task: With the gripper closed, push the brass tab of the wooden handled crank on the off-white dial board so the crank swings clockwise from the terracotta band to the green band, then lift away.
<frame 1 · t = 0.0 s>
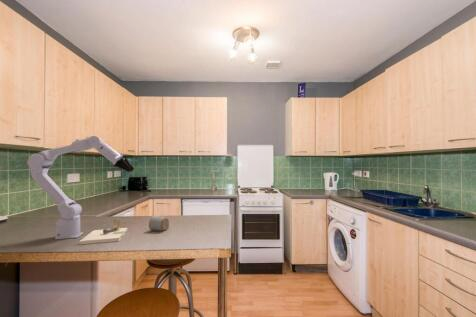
hand: (131, 170, 124), 32 cm above the counter, tool tilted 50°, fingers open, 7 cm apart
dial board: (105, 236, 115), on the counter
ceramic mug: (160, 230, 127), on the counter
wooden handled crank: (111, 225, 118), point 4 cm above the counter, hinge at 60.0°
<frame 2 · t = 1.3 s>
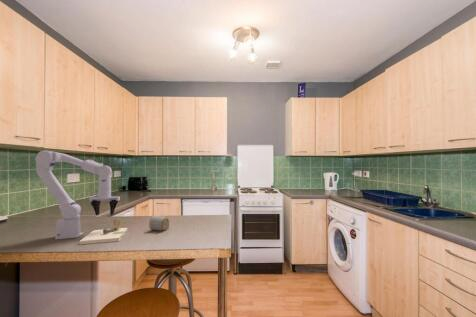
hand: (104, 214, 122), 9 cm above the counter, tool pointing down, fingers open, 7 cm apart
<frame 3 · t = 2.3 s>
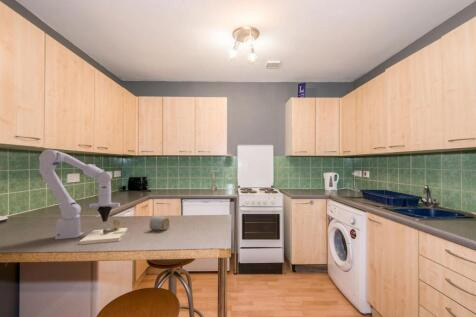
hand: (104, 221, 122), 6 cm above the counter, tool pointing down, fingers closed
nothing on the counter moved.
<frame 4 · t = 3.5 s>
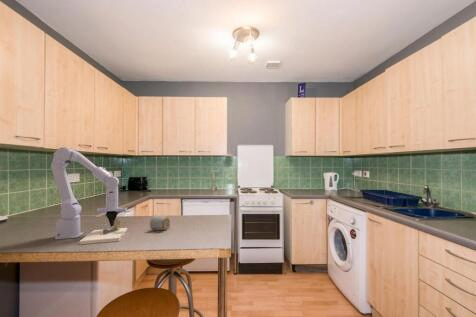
hand: (112, 226, 122), 3 cm above the counter, tool pointing down, fingers closed
wooden handled crank: (111, 225, 118), point 4 cm above the counter, hinge at 59.3°, touching gripper
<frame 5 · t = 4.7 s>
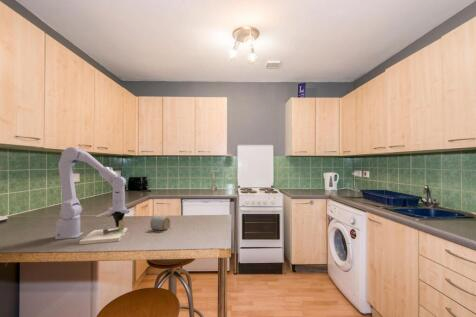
hand: (118, 226, 121), 3 cm above the counter, tool pointing down, fingers closed
wooden handled crank: (113, 226, 117), point 4 cm above the counter, hinge at 27.8°, touching gripper
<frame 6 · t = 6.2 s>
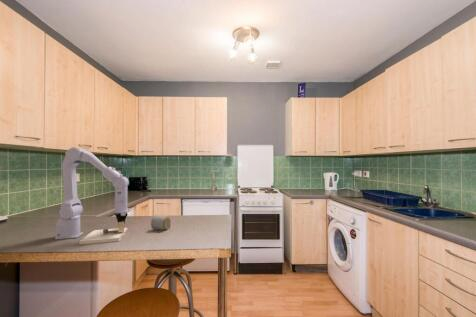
hand: (121, 227, 119), 3 cm above the counter, tool pointing down, fingers closed
wooden handled crank: (113, 227, 116), point 4 cm above the counter, hinge at -0.9°, touching gripper
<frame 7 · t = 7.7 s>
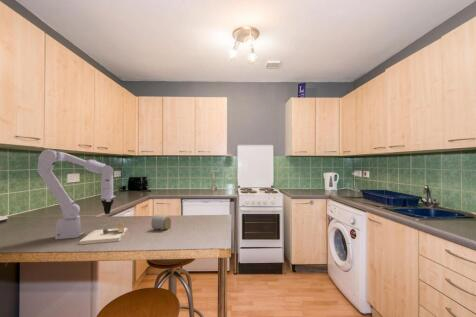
hand: (107, 213, 124), 9 cm above the counter, tool pointing down, fingers closed
wooden handled crank: (113, 227, 116), point 4 cm above the counter, hinge at -1.0°
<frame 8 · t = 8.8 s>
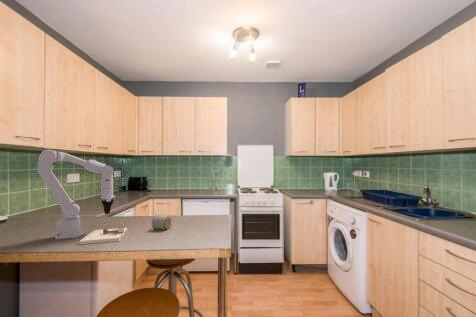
hand: (107, 213, 124), 9 cm above the counter, tool pointing down, fingers closed
at the end: wooden handled crank at -1° (first picture: +60°); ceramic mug moved 2.5 cm from its start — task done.
